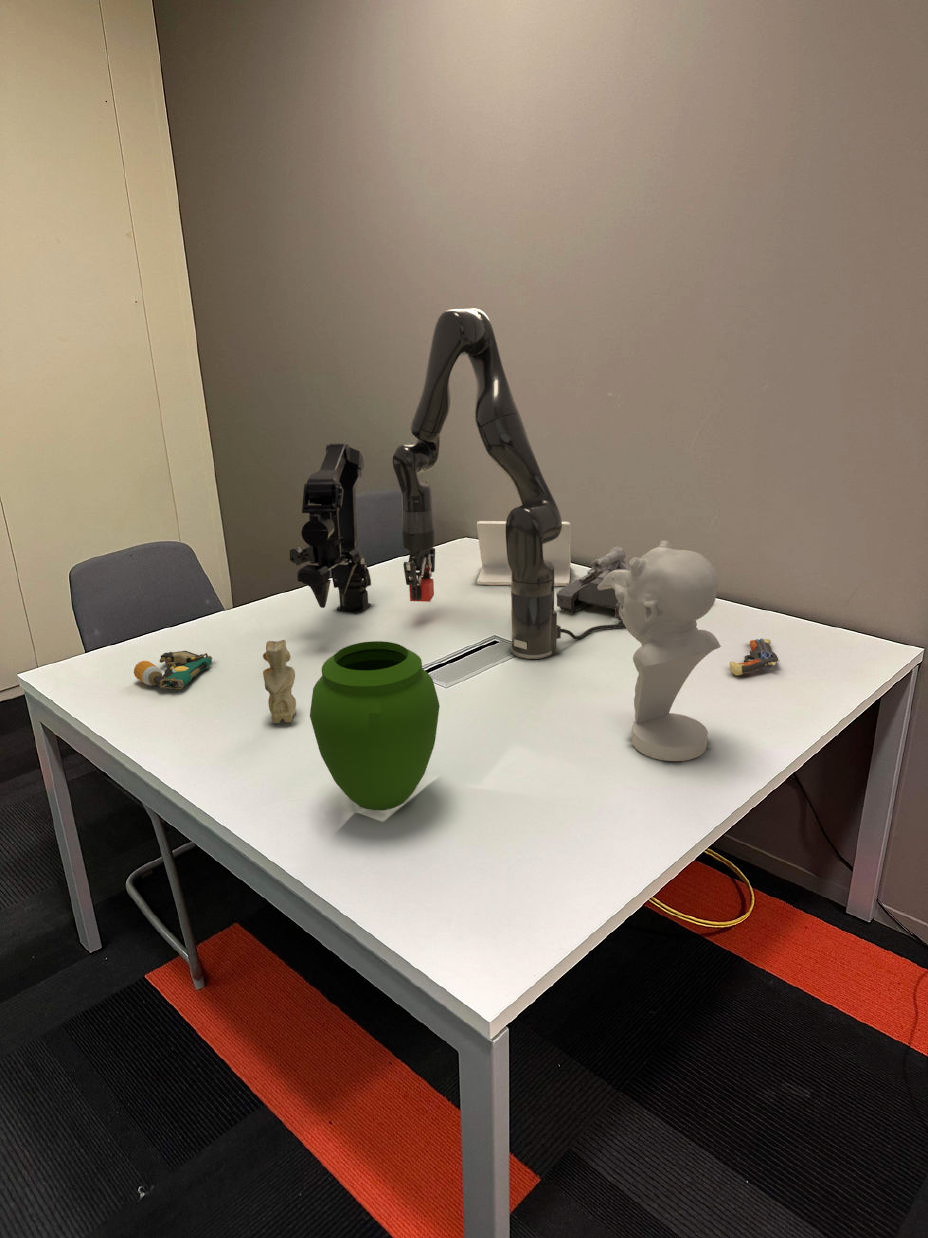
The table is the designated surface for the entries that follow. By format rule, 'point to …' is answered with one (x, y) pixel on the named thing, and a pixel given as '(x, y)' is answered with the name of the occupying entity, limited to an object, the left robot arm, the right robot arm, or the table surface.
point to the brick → (425, 590)
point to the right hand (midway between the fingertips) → (421, 595)
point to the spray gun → (172, 669)
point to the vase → (375, 722)
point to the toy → (594, 585)
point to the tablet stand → (496, 554)
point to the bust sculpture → (666, 643)
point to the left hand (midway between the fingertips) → (332, 600)
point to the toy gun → (756, 658)
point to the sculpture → (279, 681)
